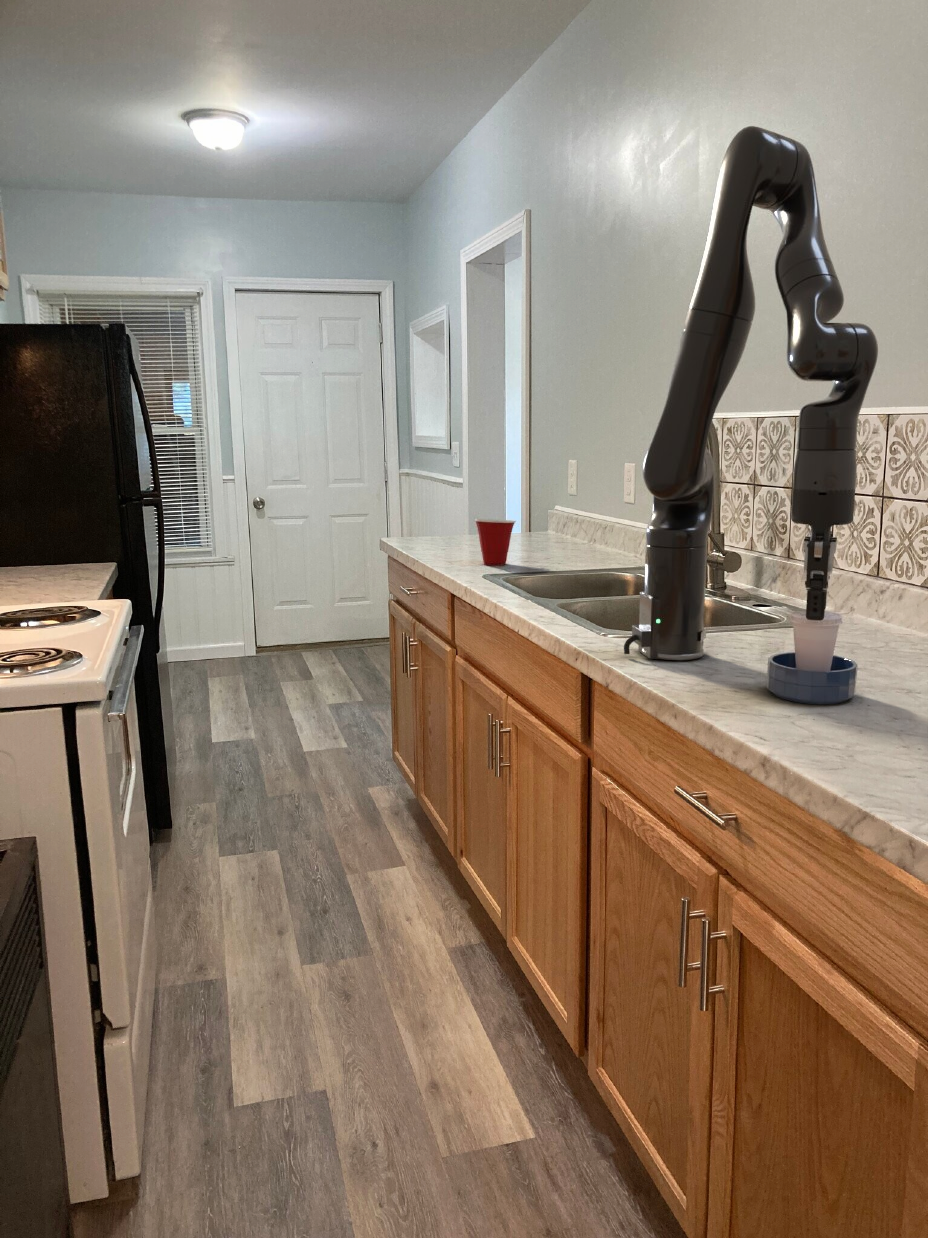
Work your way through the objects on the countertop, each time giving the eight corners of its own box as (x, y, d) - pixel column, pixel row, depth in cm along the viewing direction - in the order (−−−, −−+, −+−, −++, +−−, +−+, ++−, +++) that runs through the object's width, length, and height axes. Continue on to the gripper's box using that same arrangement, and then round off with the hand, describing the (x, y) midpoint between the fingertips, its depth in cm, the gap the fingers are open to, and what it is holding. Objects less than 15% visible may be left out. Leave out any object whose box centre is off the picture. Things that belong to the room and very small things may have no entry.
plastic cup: (524, 563, 253) (524, 517, 251) (499, 568, 245) (499, 521, 243) (491, 560, 260) (491, 515, 258) (466, 564, 252) (466, 518, 249)
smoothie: (841, 693, 124) (849, 586, 121) (789, 691, 125) (795, 584, 123) (833, 681, 130) (840, 578, 128) (783, 679, 132) (789, 577, 129)
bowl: (790, 708, 122) (792, 673, 121) (752, 685, 133) (754, 653, 132) (871, 704, 123) (874, 669, 122) (828, 682, 134) (830, 650, 133)
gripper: (796, 482, 131) (789, 604, 134) (789, 488, 118) (781, 623, 121) (855, 483, 128) (847, 607, 131) (855, 489, 115) (846, 627, 118)
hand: (815, 614), depth 126 cm, fingers closed on smoothie, 6 cm apart
